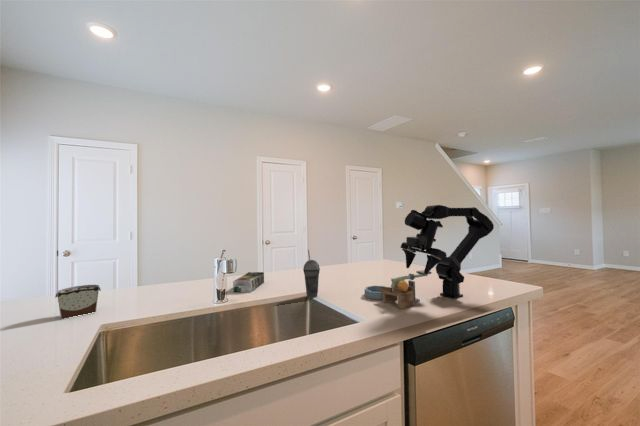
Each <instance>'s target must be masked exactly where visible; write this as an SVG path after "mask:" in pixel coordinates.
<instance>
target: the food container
mask: <svg viewBox="0 0 640 426" xmlns="http://www.w3.org/2000/svg"><path fill="white" fill-rule="evenodd" d="M99 291H101V287H100V285H99V284H83V285H75V286H71V287H66V288H62V289H60V290H58V291H56V293H55V296H54V298H57V302H58V309H59V315H60V320H61V319H63V320H65V319H64V318H68V319H70V318H69V317H73V316H77V317H79V316H78V315H82V316H84V315H83V314H87V315H89V314H88V313H92V312H96V313H97V307H98V299H99V298H98V297H99ZM92 314H93V313H92ZM73 318H74V317H73Z"/></svg>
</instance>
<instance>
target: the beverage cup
mask: <svg viewBox="0 0 640 426" xmlns="http://www.w3.org/2000/svg"><path fill="white" fill-rule="evenodd" d="M307 253H308V260H307V261H306V262H305V263H304V265H303V268H302V270H303V275H304V282H305V289H306V290H305V291H306V297H307V298H309V299H315V298H318V293H319V277H320V276H319V275H320V271H321V267H320V265H319V263H318V262H317V261H316V259H315V260H314V259H311V255H310V250H309V249H307Z"/></svg>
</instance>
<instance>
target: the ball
mask: <svg viewBox="0 0 640 426" xmlns="http://www.w3.org/2000/svg"><path fill="white" fill-rule="evenodd" d="M407 282H408V281H407ZM407 282H406V280H404V281H400V282H398V284H397V288H400V289H402V292H405V291H407V290H408V286H409V285H408V283H407Z"/></svg>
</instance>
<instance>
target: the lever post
mask: <svg viewBox="0 0 640 426" xmlns="http://www.w3.org/2000/svg"><path fill="white" fill-rule="evenodd" d="M407 282H408V283H407V284H408V286H413V290H414V291H413V295H414V304H415V303H419V302H421V300H420V299H419V298H417V297H416V283H415V282H416V281H414V280H410V279H408V281H407Z"/></svg>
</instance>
